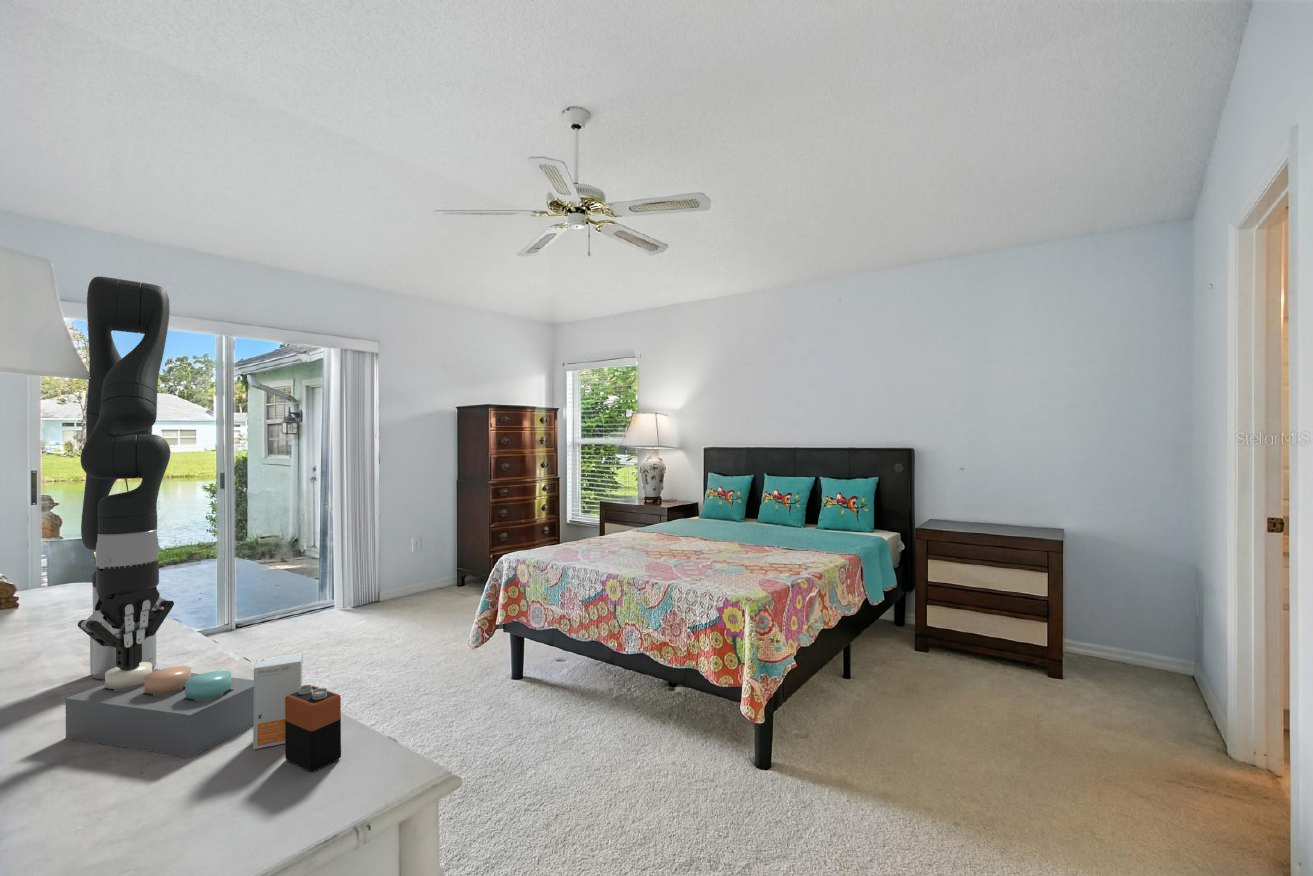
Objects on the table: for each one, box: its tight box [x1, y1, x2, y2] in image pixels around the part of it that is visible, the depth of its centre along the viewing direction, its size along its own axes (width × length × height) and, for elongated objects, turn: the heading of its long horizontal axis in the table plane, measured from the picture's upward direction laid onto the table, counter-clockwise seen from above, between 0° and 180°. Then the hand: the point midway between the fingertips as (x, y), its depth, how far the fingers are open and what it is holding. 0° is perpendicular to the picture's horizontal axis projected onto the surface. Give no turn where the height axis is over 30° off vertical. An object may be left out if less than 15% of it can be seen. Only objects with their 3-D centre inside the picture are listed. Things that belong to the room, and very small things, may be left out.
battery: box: [284, 684, 342, 772], centre depth 84 cm, size 4×7×10 cm, turn 60°
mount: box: [65, 668, 254, 758], centre depth 93 cm, size 24×12×6 cm, turn 76°
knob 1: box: [104, 662, 153, 692], centre depth 95 cm, size 6×6×8 cm
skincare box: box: [252, 652, 304, 750], centre depth 90 cm, size 6×4×12 cm
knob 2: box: [185, 670, 232, 702], centre depth 91 cm, size 6×6×8 cm
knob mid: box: [144, 665, 192, 697], centre depth 93 cm, size 6×6×8 cm
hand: (129, 668), depth 95 cm, fingers closed
